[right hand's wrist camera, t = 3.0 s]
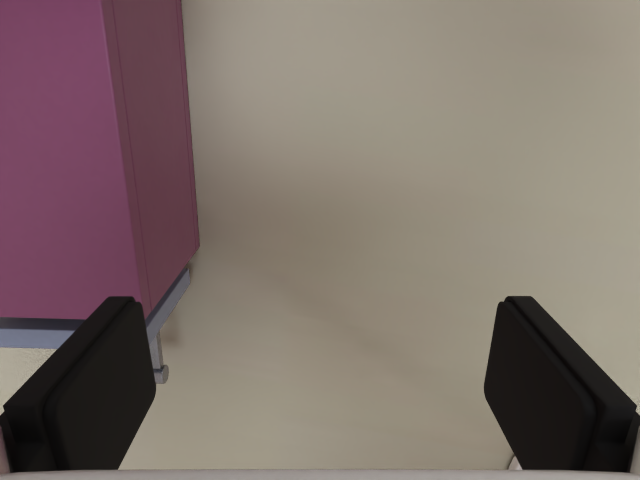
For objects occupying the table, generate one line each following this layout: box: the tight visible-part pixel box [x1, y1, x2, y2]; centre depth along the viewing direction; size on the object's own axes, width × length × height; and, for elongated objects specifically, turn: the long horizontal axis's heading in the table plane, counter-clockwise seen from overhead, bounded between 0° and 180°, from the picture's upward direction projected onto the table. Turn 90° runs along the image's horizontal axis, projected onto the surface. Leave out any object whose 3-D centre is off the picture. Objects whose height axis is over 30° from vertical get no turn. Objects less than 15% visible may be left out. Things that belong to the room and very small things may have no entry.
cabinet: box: [0, 0, 200, 319], centre depth 22 cm, size 21×10×10 cm, turn 178°
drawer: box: [0, 268, 190, 384], centre depth 24 cm, size 26×9×8 cm, turn 178°
